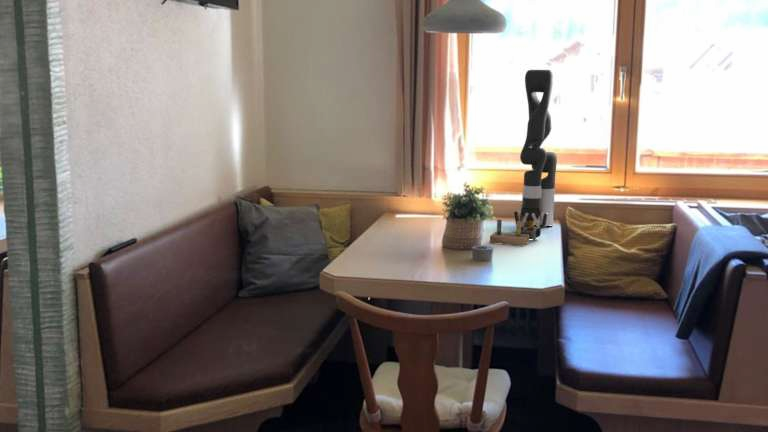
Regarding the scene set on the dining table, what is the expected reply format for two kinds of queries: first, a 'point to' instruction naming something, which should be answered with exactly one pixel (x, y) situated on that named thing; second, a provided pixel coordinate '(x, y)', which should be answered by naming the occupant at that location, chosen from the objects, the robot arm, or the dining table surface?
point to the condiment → (528, 223)
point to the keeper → (509, 235)
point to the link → (530, 232)
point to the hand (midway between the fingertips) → (530, 236)
